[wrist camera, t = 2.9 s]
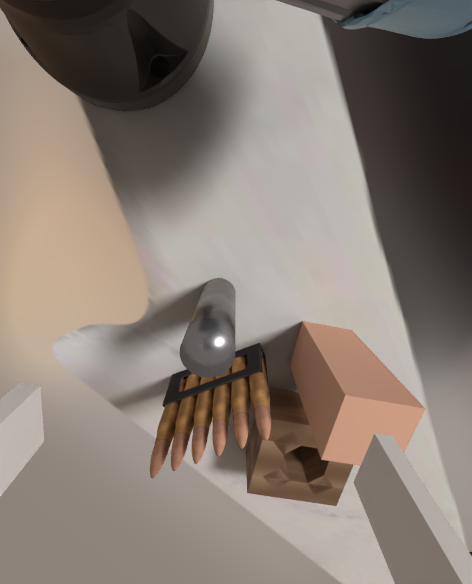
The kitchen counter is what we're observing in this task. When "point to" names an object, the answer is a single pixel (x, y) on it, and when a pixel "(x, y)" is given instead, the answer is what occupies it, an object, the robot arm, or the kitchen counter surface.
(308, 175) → the kitchen counter surface
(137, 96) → the robot arm
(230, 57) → the kitchen counter surface
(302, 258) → the kitchen counter surface
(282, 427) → the bore block
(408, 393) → the square peg
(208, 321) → the round peg
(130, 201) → the kitchen counter surface
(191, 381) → the ammunition clip
